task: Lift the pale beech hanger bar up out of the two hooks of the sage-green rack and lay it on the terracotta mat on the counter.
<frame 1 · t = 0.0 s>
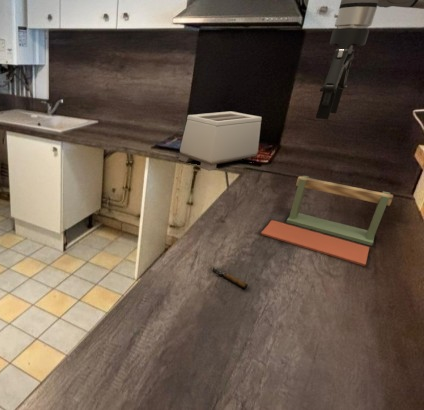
hand: (326, 115, 97), 32 cm above the table, tool pointing down, fingers open, 13 cm apart
rack: (328, 228, 105), on the table
can opener: (228, 279, 81), on the table
hanger bar: (340, 193, 100), point 11 cm above the table, touching rack
mat: (312, 241, 97), on the table
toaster: (219, 160, 168), on the table
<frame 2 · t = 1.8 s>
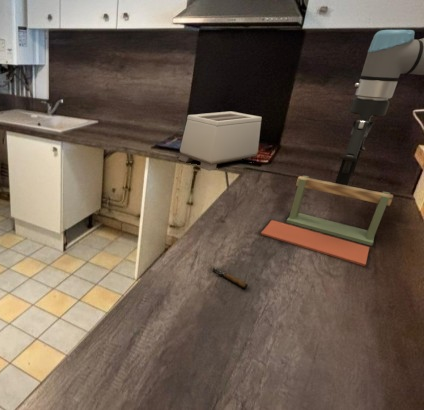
hand: (344, 178, 98), 16 cm above the table, tool pointing down, fingers open, 13 cm apart
nothing on the table moved.
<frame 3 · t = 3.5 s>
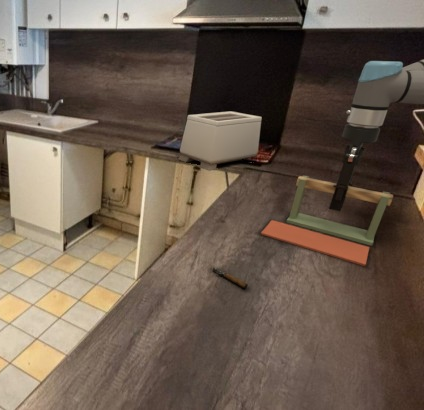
hand: (335, 207, 102), 7 cm above the table, tool pointing down, fingers closed on hanger bar, 2 cm apart
hanger bar: (340, 193, 100), point 11 cm above the table, touching gripper, rack
everything else where it was.
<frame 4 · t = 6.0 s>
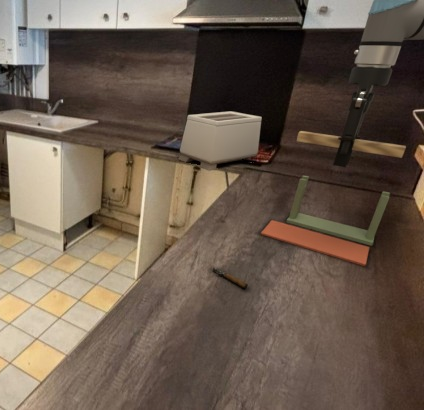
hand: (340, 164, 91), 21 cm above the table, tool pointing down, fingers closed on hanger bar, 2 cm apart
hanger bar: (345, 148, 90), point 25 cm above the table, touching gripper
everything else where it was.
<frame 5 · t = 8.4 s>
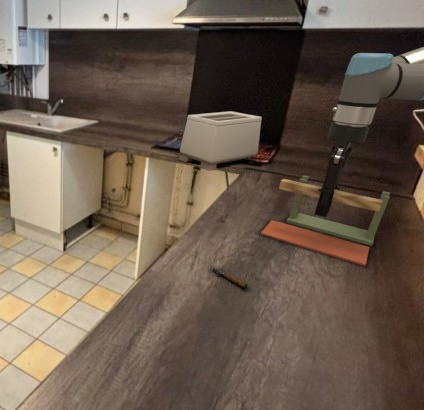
hand: (321, 213, 94), 8 cm above the table, tool pointing down, fingers closed on hanger bar, 2 cm apart
hanger bar: (326, 198, 92), point 13 cm above the table, touching gripper
everything else where it was.
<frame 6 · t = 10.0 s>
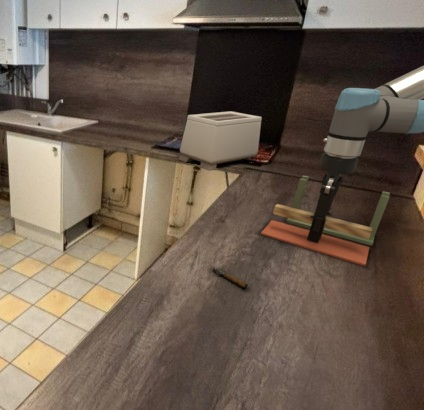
hand: (313, 238, 97), 1 cm above the table, tool pointing down, fingers closed on hanger bar, 2 cm apart
hanger bar: (318, 224, 95), point 5 cm above the table, touching gripper
everything else where it was.
when the fingers open (1 cm above the table, at t = 10.9 s): hanger bar drops 5 cm, resting on mat.
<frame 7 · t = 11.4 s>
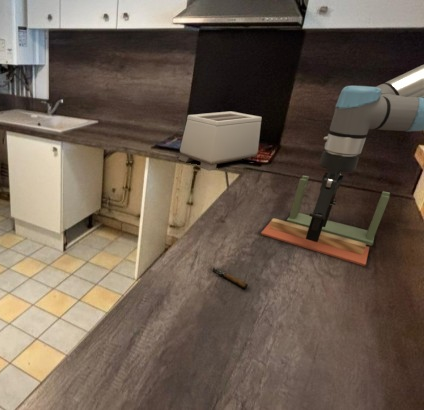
hand: (315, 232, 96), 3 cm above the table, tool pointing down, fingers open, 11 cm apart
hanger bar: (313, 239, 97), point 1 cm above the table, touching mat
everything else where it was.
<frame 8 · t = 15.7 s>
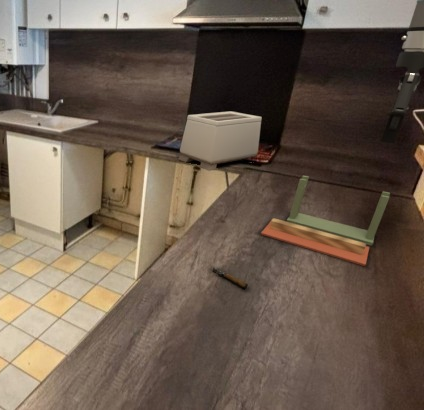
hand: (388, 137, 95), 27 cm above the table, tool pointing down, fingers open, 13 cm apart
nothing on the table moved.
at the end: hanger bar inside the target area on the mat (0.2 cm from its centre), point 0.6 cm above the mat's base; the gripper is holding nothing; hanger bar touching mat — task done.
